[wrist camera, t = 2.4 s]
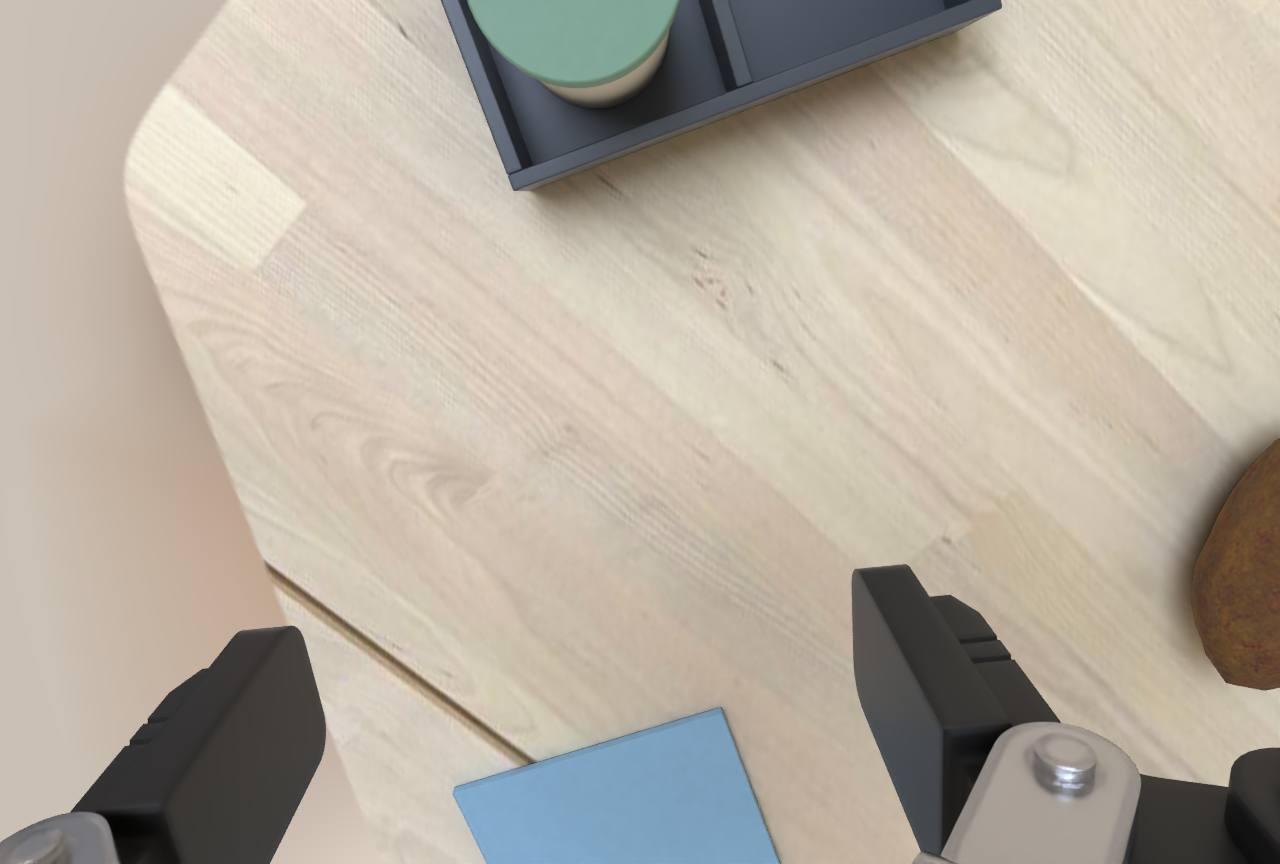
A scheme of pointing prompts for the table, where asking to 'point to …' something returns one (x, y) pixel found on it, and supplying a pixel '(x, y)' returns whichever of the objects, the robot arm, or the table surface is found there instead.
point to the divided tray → (694, 74)
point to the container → (581, 44)
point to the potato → (1243, 580)
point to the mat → (625, 803)
